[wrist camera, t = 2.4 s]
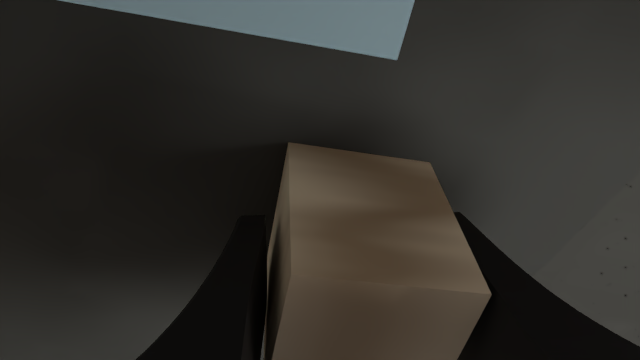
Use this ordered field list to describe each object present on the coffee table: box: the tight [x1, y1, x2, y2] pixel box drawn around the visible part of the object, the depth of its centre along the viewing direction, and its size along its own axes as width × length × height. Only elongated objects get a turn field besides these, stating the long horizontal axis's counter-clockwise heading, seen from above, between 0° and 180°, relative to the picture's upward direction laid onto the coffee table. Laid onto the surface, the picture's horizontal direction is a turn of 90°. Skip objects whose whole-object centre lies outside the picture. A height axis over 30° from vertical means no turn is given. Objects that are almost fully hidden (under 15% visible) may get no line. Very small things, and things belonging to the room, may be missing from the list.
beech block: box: [264, 142, 492, 360], centre depth 13 cm, size 4×4×5 cm
